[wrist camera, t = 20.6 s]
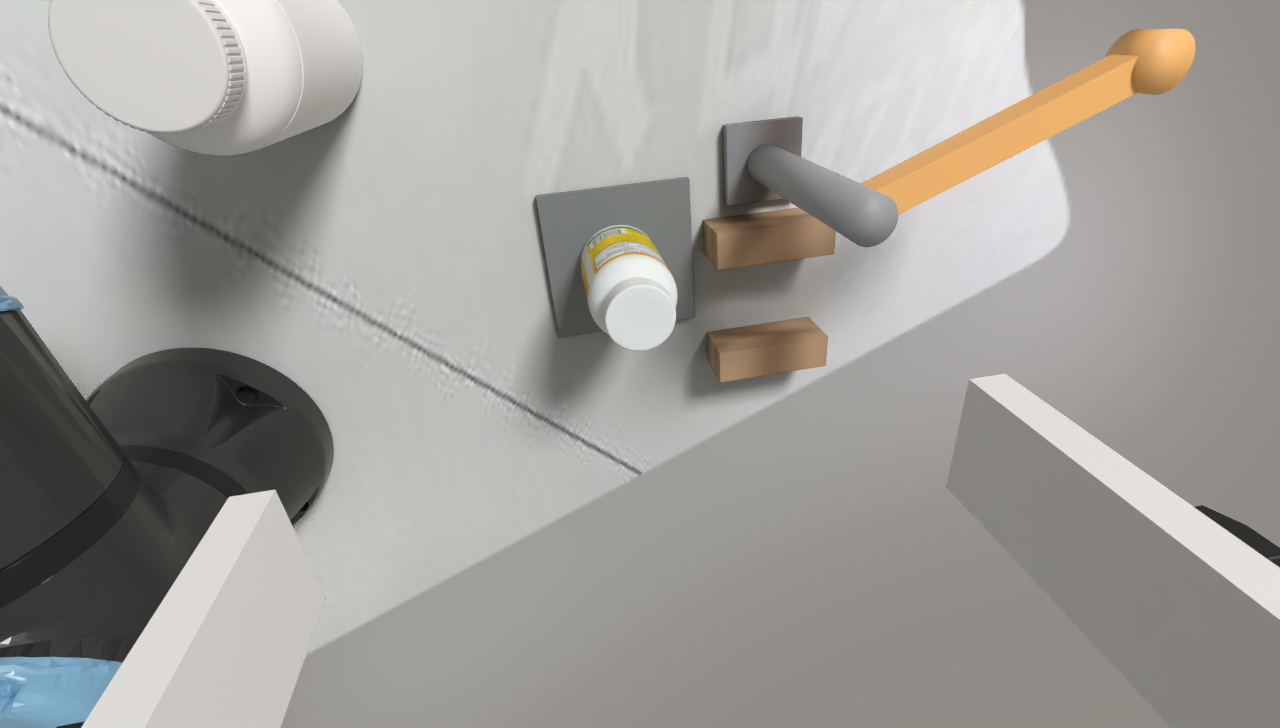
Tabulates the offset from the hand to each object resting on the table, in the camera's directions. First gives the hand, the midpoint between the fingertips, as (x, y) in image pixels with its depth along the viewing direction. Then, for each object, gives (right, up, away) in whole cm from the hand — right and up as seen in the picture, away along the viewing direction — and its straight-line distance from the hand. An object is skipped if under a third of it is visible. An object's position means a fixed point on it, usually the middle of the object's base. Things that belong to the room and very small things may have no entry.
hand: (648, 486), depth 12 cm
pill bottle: (-19, +20, +22) cm, 35 cm away
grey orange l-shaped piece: (+14, +19, +27) cm, 36 cm away
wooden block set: (+8, +11, +32) cm, 35 cm away
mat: (-2, +10, +30) cm, 32 cm away
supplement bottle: (-2, +9, +30) cm, 32 cm away
